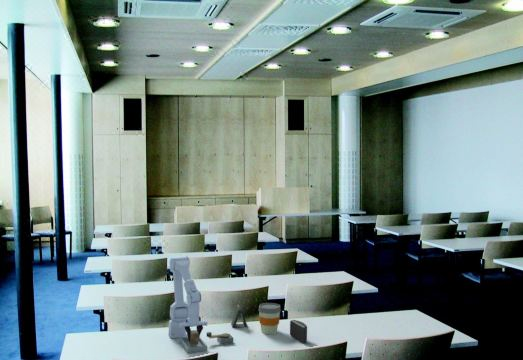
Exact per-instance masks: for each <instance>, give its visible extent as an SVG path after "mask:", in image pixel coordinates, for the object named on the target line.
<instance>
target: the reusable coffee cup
mask: <svg viewBox="0 0 523 360" xmlns="http://www.w3.org/2000/svg"><path fill="white" fill-rule="evenodd" d="M281 311H282V310H281V305H280V304H278V303H274V302H265V303H264V302H263V303H260V304H259V306H258V312H259V314H258V319H259V320H258V321H259V324H260V332H261V333H262V334H265V335H275V334H277V333H278V327H279V325H280V319H281V314H280V313H281Z"/></svg>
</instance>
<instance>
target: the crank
mask: <svg viewBox="0 0 523 360" xmlns="http://www.w3.org/2000/svg"><path fill="white" fill-rule="evenodd" d="M229 334H230V333H228V332H225V333H221V334H219V333H218V334H212V331H207V332H206V337H207V338H208V339H217V338H219V337H229Z"/></svg>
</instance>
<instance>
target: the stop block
mask: <svg viewBox="0 0 523 360" xmlns="http://www.w3.org/2000/svg"><path fill="white" fill-rule="evenodd" d="M198 338H199V333H198V332H197V329H195V330H191V333H190V341H189V343H190V344H191V345H197V344H198Z"/></svg>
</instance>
